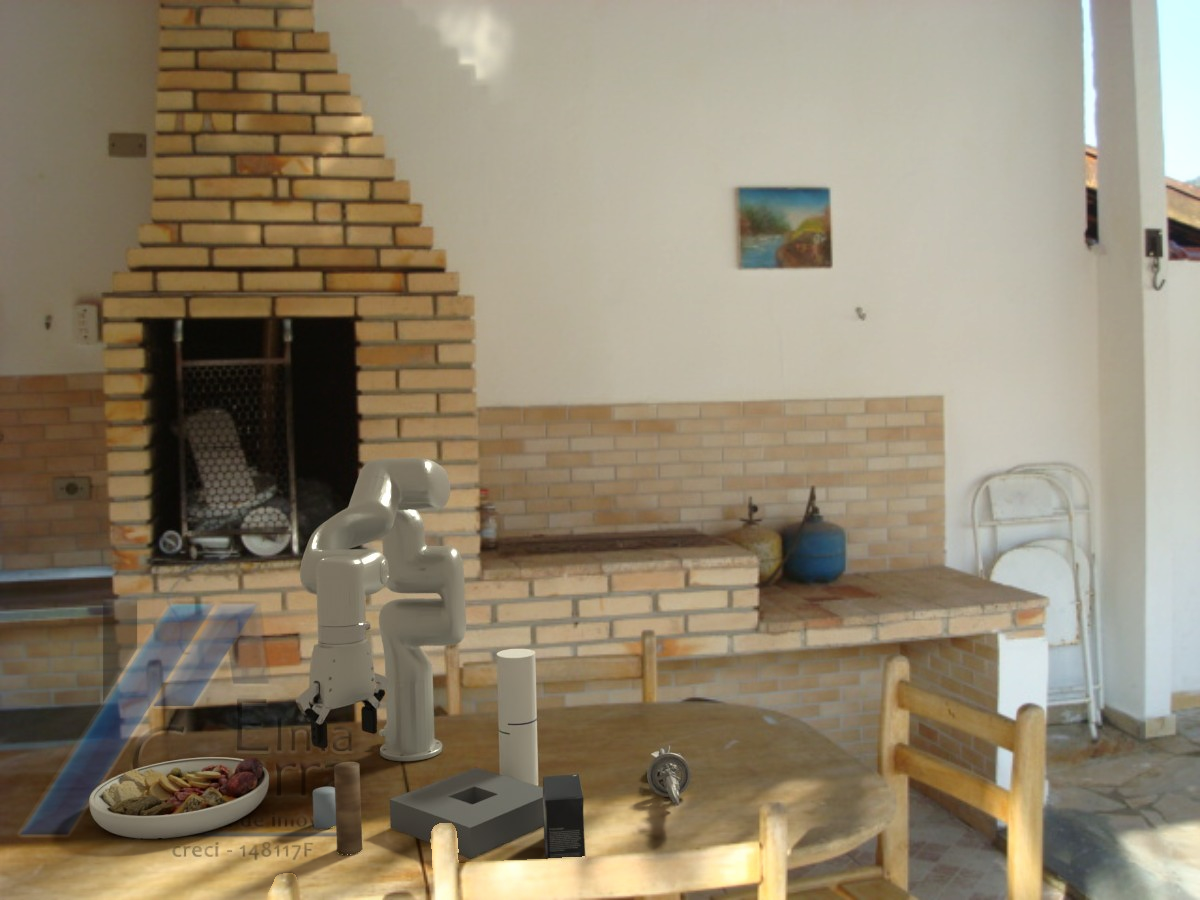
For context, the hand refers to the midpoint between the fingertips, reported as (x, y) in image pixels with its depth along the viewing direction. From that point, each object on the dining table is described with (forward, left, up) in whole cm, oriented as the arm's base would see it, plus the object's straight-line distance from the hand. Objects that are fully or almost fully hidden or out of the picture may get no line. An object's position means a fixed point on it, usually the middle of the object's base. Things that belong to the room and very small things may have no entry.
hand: (345, 739), depth 183 cm
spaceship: (+26, +51, -19) cm, 60 cm away
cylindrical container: (+1, +38, -19) cm, 43 cm away
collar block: (+8, +20, -19) cm, 29 cm away
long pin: (0, 0, -19) cm, 19 cm away
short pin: (-12, +4, -19) cm, 23 cm away
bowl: (-38, -8, -19) cm, 43 cm away
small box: (+27, +22, -19) cm, 40 cm away
